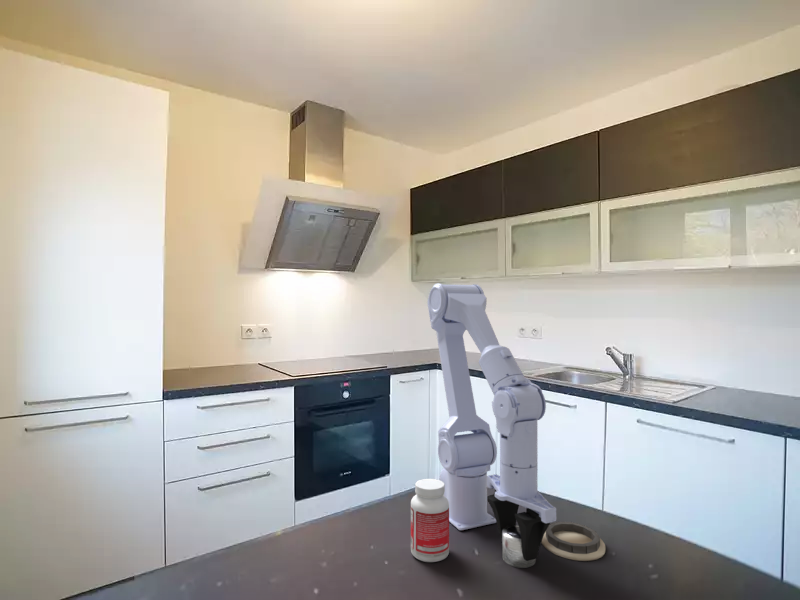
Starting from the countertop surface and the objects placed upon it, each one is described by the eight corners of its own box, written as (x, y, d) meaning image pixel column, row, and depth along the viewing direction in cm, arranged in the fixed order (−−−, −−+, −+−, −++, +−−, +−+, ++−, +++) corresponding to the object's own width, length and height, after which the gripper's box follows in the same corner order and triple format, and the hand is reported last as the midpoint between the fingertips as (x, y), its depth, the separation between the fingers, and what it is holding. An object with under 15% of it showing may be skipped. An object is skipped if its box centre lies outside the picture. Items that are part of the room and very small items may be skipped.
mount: (528, 536, 79) (528, 525, 79) (572, 525, 83) (572, 515, 83) (571, 566, 70) (571, 554, 70) (619, 552, 74) (619, 541, 74)
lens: (495, 554, 73) (495, 528, 73) (521, 547, 75) (521, 522, 75) (515, 570, 69) (515, 542, 69) (542, 563, 71) (542, 536, 71)
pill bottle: (457, 556, 73) (457, 485, 73) (426, 568, 69) (426, 494, 69) (433, 539, 78) (433, 473, 78) (403, 550, 74) (403, 481, 74)
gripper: (471, 451, 77) (471, 533, 77) (528, 482, 64) (528, 580, 64) (506, 446, 80) (506, 525, 80) (567, 474, 67) (567, 569, 66)
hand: (518, 549), depth 72 cm, fingers closed on lens, 5 cm apart
